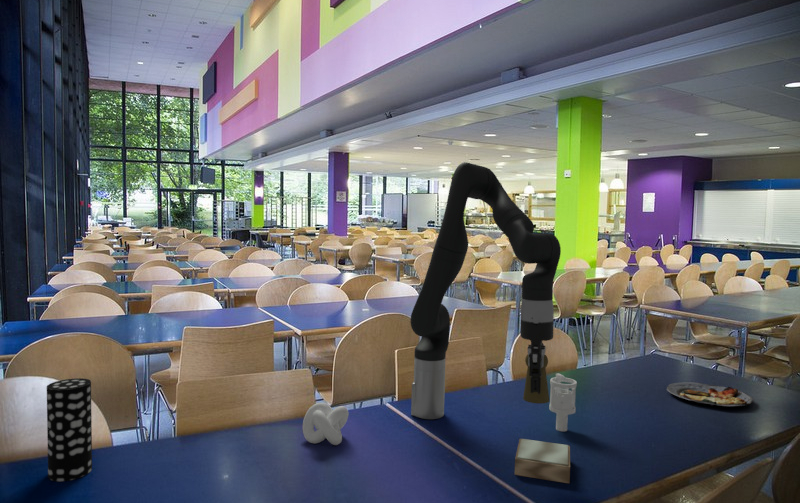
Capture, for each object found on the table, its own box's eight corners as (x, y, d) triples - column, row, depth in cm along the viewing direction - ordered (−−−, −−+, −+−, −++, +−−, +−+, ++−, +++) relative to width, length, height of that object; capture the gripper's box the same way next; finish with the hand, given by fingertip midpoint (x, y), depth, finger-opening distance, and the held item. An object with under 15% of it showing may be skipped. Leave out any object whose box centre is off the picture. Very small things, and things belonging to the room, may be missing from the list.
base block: (514, 474, 122) (515, 457, 121) (519, 453, 133) (519, 437, 133) (569, 483, 118) (570, 466, 118) (569, 460, 129) (569, 444, 129)
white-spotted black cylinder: (61, 464, 122) (59, 378, 121) (98, 463, 123) (98, 378, 121) (39, 481, 114) (38, 390, 112) (80, 481, 114) (79, 389, 113)
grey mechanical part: (567, 423, 153) (569, 372, 152) (579, 433, 146) (581, 380, 145) (544, 425, 152) (546, 373, 151) (555, 434, 145) (557, 380, 144)
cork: (550, 404, 122) (550, 357, 122) (523, 402, 123) (523, 355, 123) (548, 396, 128) (549, 351, 128) (522, 394, 129) (523, 349, 129)
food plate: (752, 396, 182) (752, 386, 182) (754, 417, 162) (754, 405, 162) (670, 384, 195) (671, 375, 195) (663, 402, 176) (663, 392, 176)
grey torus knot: (331, 427, 147) (332, 395, 146) (360, 441, 138) (360, 407, 138) (297, 438, 139) (297, 405, 138) (324, 453, 130) (325, 417, 130)
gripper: (523, 312, 133) (522, 380, 133) (517, 322, 119) (517, 398, 120) (554, 314, 130) (553, 383, 131) (552, 324, 117) (551, 401, 118)
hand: (536, 389), depth 126 cm, fingers closed on cork, 4 cm apart
